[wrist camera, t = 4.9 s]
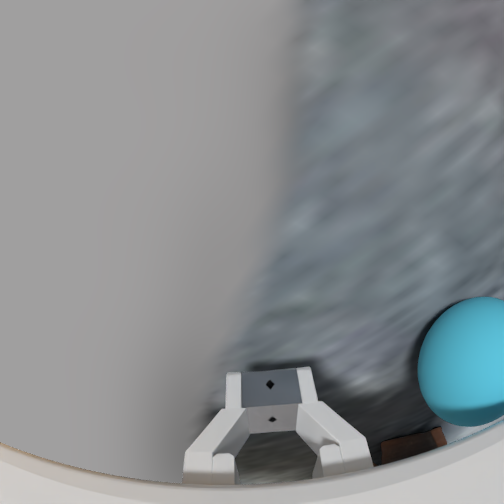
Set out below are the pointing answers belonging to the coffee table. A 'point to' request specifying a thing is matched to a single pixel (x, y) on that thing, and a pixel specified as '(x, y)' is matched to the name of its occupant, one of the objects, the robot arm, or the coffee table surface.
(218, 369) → the coffee table surface
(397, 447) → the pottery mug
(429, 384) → the ball
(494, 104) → the coffee table surface
